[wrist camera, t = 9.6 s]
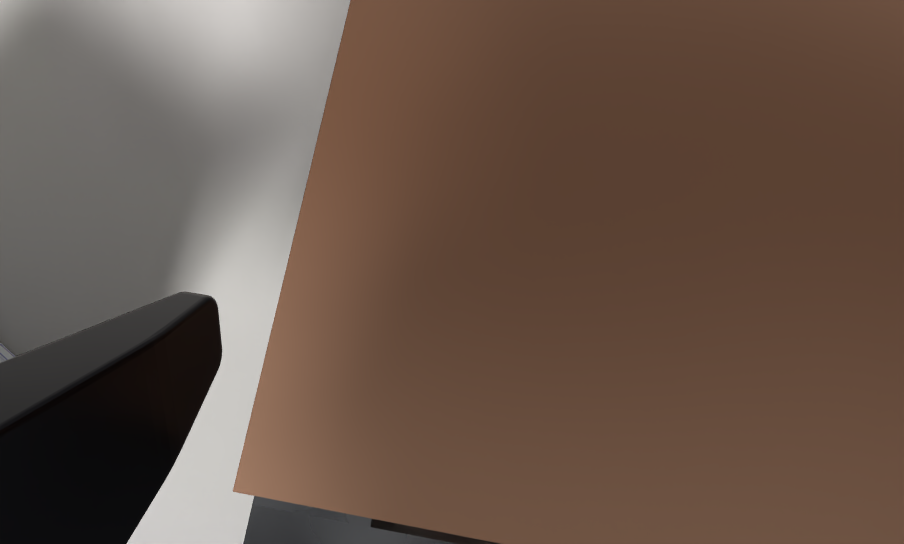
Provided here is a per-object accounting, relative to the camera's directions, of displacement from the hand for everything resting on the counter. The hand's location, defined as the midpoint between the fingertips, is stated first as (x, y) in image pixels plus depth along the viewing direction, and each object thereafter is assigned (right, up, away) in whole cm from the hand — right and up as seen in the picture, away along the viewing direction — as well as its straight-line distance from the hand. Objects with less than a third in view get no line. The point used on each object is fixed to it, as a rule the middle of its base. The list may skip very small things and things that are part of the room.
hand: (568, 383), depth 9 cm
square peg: (+1, -2, +8) cm, 8 cm away
